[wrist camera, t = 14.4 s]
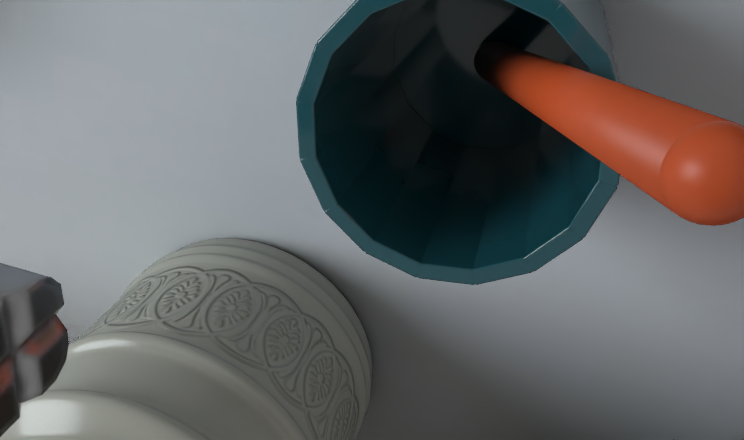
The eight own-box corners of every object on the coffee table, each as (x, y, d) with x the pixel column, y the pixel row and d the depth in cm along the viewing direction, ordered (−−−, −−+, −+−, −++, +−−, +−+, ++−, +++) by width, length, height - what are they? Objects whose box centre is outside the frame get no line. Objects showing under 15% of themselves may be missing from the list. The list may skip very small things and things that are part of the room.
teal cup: (352, -15, 27) (244, 43, 18) (570, -108, 23) (566, -91, 15) (430, 178, 29) (368, 309, 21) (634, 118, 26) (663, 243, 17)
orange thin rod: (465, 48, 26) (669, 156, 9) (502, 33, 26) (783, 112, 8) (478, 84, 26) (697, 256, 9) (514, 70, 26) (806, 216, 9)
